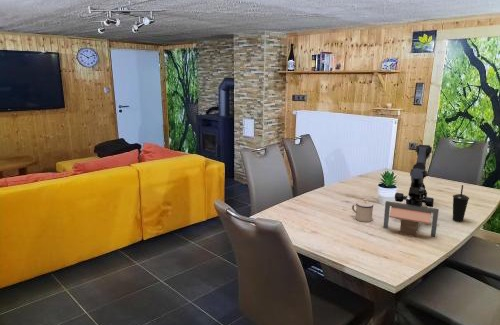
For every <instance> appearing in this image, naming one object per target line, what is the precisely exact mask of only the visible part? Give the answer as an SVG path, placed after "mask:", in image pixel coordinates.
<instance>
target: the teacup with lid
mask: <svg viewBox="0 0 500 325" xmlns="http://www.w3.org/2000/svg"><path fill="white" fill-rule="evenodd" d="M351 205H352V206H351V210H352V211H353V213H355V219H356V220H357V221H358V222H363V223H369V222H371V221H372V220H373V211H374V209H373V208H374V203H373V202H372V201H368V198H363V199H362V200H358V201H357V202H356V203H354V204H351ZM355 206H356V209H355Z"/></svg>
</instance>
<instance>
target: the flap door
mask: <svg viewBox="0 0 500 325" xmlns="http://www.w3.org/2000/svg"><path fill="white" fill-rule="evenodd" d="M431 215H432V213H430V212H424V211H417V210H411V209H405V208H399V207H392V206H390V211H389V218H392V219H398V220H401V219H403V220H409V221H414V222H419V224H420V223H421V224H427V225H430V222H431Z"/></svg>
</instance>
